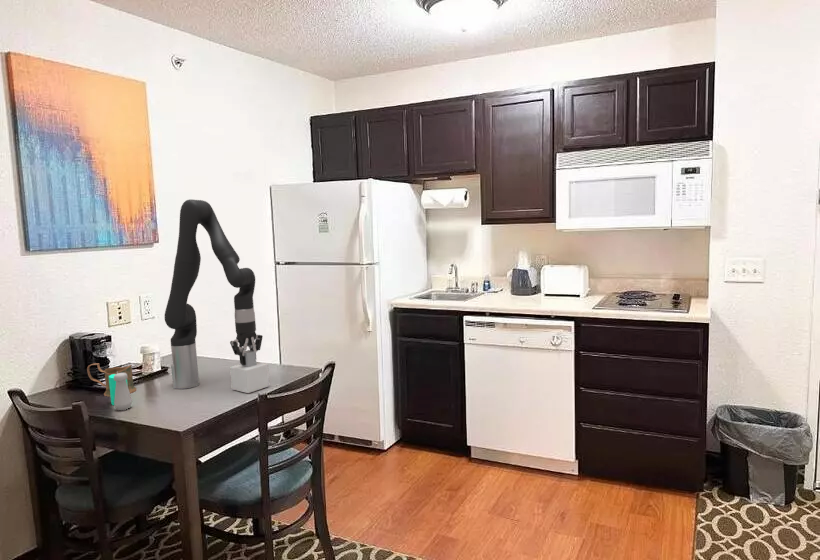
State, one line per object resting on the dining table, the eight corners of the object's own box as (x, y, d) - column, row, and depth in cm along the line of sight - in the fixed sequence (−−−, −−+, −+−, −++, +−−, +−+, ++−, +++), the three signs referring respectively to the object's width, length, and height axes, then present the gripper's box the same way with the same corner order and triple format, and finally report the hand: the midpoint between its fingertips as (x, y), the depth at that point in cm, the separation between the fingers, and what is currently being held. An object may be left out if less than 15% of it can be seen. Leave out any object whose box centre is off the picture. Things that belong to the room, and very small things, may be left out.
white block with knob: (248, 393, 214) (245, 356, 212) (231, 389, 220) (228, 353, 219) (269, 386, 222) (266, 350, 220) (253, 382, 228) (250, 347, 227)
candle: (107, 404, 209) (104, 373, 208) (121, 399, 215) (117, 368, 213) (119, 406, 207) (116, 374, 206) (133, 400, 212) (129, 369, 211)
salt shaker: (131, 410, 201) (127, 374, 200) (113, 412, 200) (109, 376, 198) (134, 405, 207) (130, 370, 206) (116, 407, 205) (113, 372, 204)
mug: (98, 389, 230) (95, 360, 229) (141, 387, 230) (138, 358, 229) (82, 398, 219) (78, 367, 217) (128, 396, 219) (124, 365, 217)
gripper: (235, 324, 210) (239, 369, 212) (266, 317, 222) (269, 360, 224) (223, 322, 215) (227, 366, 217) (254, 316, 226) (257, 358, 228)
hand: (248, 363), depth 220 cm, fingers closed on white block with knob, 4 cm apart
